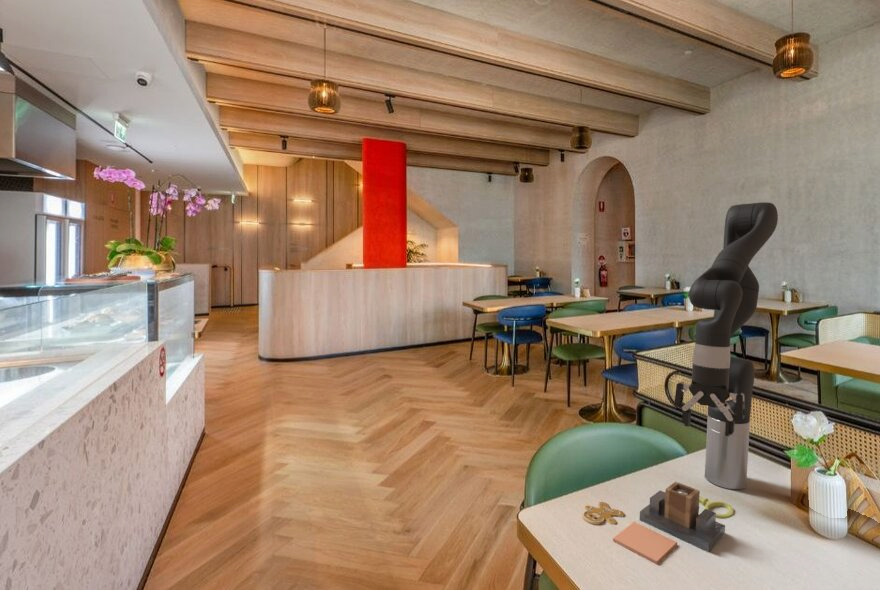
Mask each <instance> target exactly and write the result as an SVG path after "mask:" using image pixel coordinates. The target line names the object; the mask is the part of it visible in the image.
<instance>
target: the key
mask: <svg viewBox="0 0 880 590" xmlns="http://www.w3.org/2000/svg"><path fill="white" fill-rule="evenodd" d="M699 503H701V504H702V505H703V506H704V507H703V508H704V509H703V511H704V510H705V509H708V510H710V509H711V508H713V507H724V508H726V509H728V511H727V512H726V513H723V514H722V513H716V519H727V518H730V517H732V516H733V515H734V508H733V507H732V505H730V504H729V503H728V502H725V501H721V500H712V501H709V498H707V497H702V496H700V495H699Z"/></svg>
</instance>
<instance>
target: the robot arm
mask: <svg viewBox="0 0 880 590" xmlns="http://www.w3.org/2000/svg"><path fill="white" fill-rule="evenodd" d="M778 216H779V214H778V209H777V207H776V205H775V204H774V203H773V202H769V201H768V202H765V201H763V202H754V203H742V204H734V205H732V206H730V207H729V208H728V210H727V212H726V214H725V220H724V229H723V231H724V232H723V247H722V250H721V251H720V252H719V253H718V254H717V256H716V257H715V259H714V261H713V263H712V265H711V267H710V268H708V269H707V270H705V271H704V272H703V273H702V274H701V275H700V276H699V277H698V278H696V279H695V280H694V282H693V283H692V284H691V286H690V288H689V291H688V299H689V302H690V303H691V305H692V306H694V307H695V308H697V309H702V310H712V311H713V310H714V311H713V318H704V319H700V320H698V321H697V322H696V325H695V338H694V339H695V340H694V341H695V342H694V348H693V353H692V360H691V361H692V368H691V383H685V382H684V381H679V382H678V383H677V384H676V386H675V387H676V388H675V396H674V402H673V405H674V407H678V408H679V409H681V410H682V416H681V422H682V424H684V426H685V427H688V428H689V427H690V425H691V422H692V421H691V419H692V416H691V415H692V410H691V409H692V407H693V406H694V405H696V404H699V405H700V406H707V421H706V423H707V425H706V444H705V461H704V462H705V464H704V478H705V479H706V480H707V481H708V482H710V483H711V484H713V485H716V486H718V487H720V488H724V489H729V490H742V489H745V488H746V487H747V482H748V481H747V478H748V464H749V463H748V461H749V460H748V459H749V447H750V445H749V444H750V443H749V442H750V426H751V411H752V401H753V400H752V399H753V389H754V384H755V366H754V364H753V362H752V361H751V360H749V359H746V358H741V357H733V356H731V339H732V337H733V336H734V335H735V334H736V333H737V332H738V330H740V329H741V328H742V327H743V326H744V324H746V323H747V322H748V321H749V320H750V319H751V317H752V316H753V315H754V314H755V312H756V310H757V308H758V307H757V306H758V302H759V301H758V300H759V292H760V284H759V283H760V282H759V281H758V279H757V277H756V275H755V274H754V272H753V271H752V269H751V268H750V266H749V265H750V263H751V261H753V258H754V257H755V256H756V255H757V254H758V253H759V251H760V250H762V248H763V247H764V246H765V244H766V243H767V242H768V240H769V239H770V238H771V236H773V234H774V232H775V231H776V228H777V225H778V218H779V217H778ZM688 390H689V392H690V393H691V395H692V397H691V398H690V399H689V400H688V401H687V402H686V403H685V402H684V395H685V392H687V391H688ZM730 398H732V399H730ZM728 399H729V400H728Z"/></svg>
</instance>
